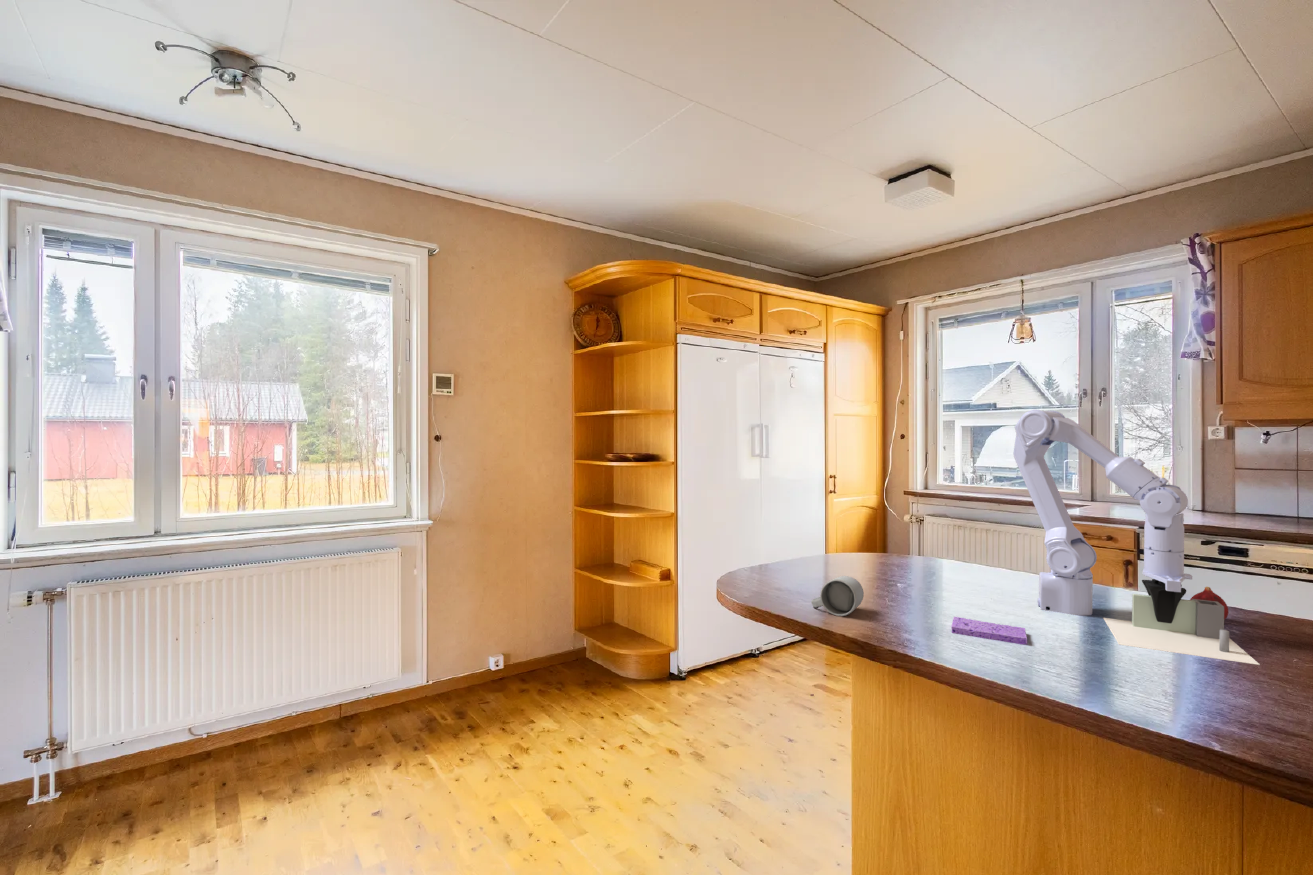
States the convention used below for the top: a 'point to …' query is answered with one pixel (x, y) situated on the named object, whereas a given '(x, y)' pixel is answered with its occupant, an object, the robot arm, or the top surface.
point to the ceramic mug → (840, 596)
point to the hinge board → (1178, 642)
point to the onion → (1211, 598)
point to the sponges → (989, 630)
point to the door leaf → (1181, 616)
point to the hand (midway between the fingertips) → (1163, 620)
